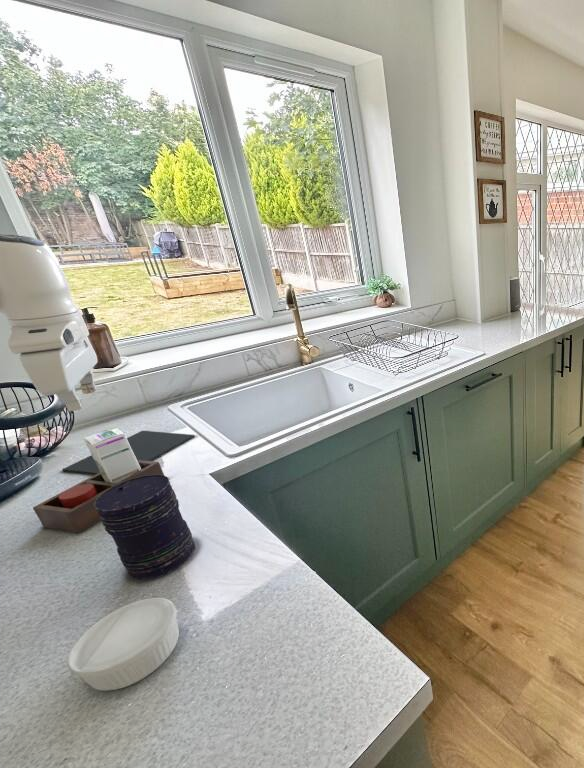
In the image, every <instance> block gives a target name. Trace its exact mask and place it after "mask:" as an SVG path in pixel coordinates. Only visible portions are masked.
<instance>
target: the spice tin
mask: <svg viewBox="0 0 584 768" xmlns="http://www.w3.org/2000/svg"><path fill="white" fill-rule="evenodd" d="M74 486H75V485H74ZM71 487H72V488H71ZM71 487H69V488H70V489H69V488H67V489H68V490H67V489H65V490H66V491H65V490H63V491H64V492H63V491H62V493H61V492H60V493H61V494H60V493H59V494H60V495H59V499H60V501H61V503H62V505H63V507H64V508H69V509H73V508H74V507H76V506H78V505H80V504H82V503H83V502H85V501H87V500H89V499H90V498H92V497H94V496H96V495H97V494H98V493H97V491H96V489H95V487H94V485H93V484H82V485H78V486H75V487H73V486H71Z"/></svg>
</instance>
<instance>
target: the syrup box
mask: <svg viewBox="0 0 584 768" xmlns="http://www.w3.org/2000/svg"><path fill="white" fill-rule="evenodd" d="M127 438H128V437H127V436H126V434H125V433H124V432H123V431H121V430H119V429H118V428H117V427H112V428H108V429H105V430H101V431H98V432H95V433H93V434H91V435H88V436H86V437H83V441H84V442H85V445H86V447H87V448H88V451H89V453H90V456H91V455H92V457H93V459H94V461H95V463H96V465H97V467H98V469H99V471H100V473H101V475H102V477H103V479H104V481H105V482H110V483H119V482H120V481H122V480H124V479H126V478H127V477H129V476H131V475H133V474H134V473H136V472H138V471H140V470H141V468H140V466H139V463H138V461H137V459H136V457H135V455H134V453H133V451H132V449H131V447H130V445H129V442H128V440H127Z"/></svg>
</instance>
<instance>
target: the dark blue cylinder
mask: <svg viewBox="0 0 584 768" xmlns="http://www.w3.org/2000/svg"><path fill="white" fill-rule="evenodd" d="M94 506H95V508H96V510H97V511H98V514H99V516H100V521H101V524H102V526H103V527H104V530H105V531H106V533H107V534H108V535H110V536H111V538H112V539H113V541H114V544H115V545H116V552H117V555H118V556H119V559H120V561H121V563H122V566H123V567H124V568H125V569H126V571H127V573H128V576H129V577H130V578H131V579H132V580H135V581H149V580H154V579H157V578H159V577H162V576H165V575H168V574H170V573H172V572H174V571H175V570H177V569H179V568H180V567H182V566H183V565H184V564H185V563H186V562H187V561H189V560H190V559H191V557H192V556H194V553H195V551H196V543H195V541H194V540H193V539H194V538H193V534H192V532H191V529H190V527H189V525H188V523H187V521H186V520H185V519H184V517H183V516H182V513H181V510H180V504H179V500H178V499H177V494H176V492H175V490H174V489H173V487H172V485H171V481H170V480H169V477H167V476H166V475H164V476H163V475H147V476H142V477H138V478H134V479H131V480H128V481H125V482H123V483H120V484H118V485H116V486H114V487H112V488H110V489H108V490H107V491H105V492H104V493H103V494H101V495H100V496H99V497H98V498H97V499H96V501H95V503H94Z"/></svg>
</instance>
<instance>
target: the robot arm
mask: <svg viewBox="0 0 584 768" xmlns="http://www.w3.org/2000/svg"><path fill="white" fill-rule="evenodd" d="M0 313H2V314H4V315H5V317H6V318H7V320H8V322H9V325H10V326H11V327H10V330H11V333H10V336H9V339H8V340H7V345H8V348H9V350H10V351H11V353H12V354H14V355H17V354H19V360H20V363H21V365H22V368H23V369H24V371H25V373H26V374H27V376H28V378H29V380H30V381H31V383H32V385H33V386H34V388H35V389H36V391H38V392H39V393H40V394H41V395H42V396H45V397H48V396H56V397H57V398H58V399H59V400H60V401H61V402H63V403H64V405H65V407H66V409H67V411H69V412H75V411H80V410H81V409H82V408H83V407H84V403H83V401H82V399H81V397H79V396H78V395H77V393H76V389H75V387H76V386H77V385H78V384H80V385H79V387H80V390H81V392H82V394H84V395H88V394H94V393H95V392H96V391H97V386H96V383H95V379H94V371H93V370H92V369H93V368H94V367H95V366H96V365H97V364H98V362H99V361H98V356H97V354H96V351H95V349H94V347H93V345H92V343H91V341H90V339H89V337H88V336H90V332H89V329H88V327H87V324H86V322H85V319H84V317H83V315H82V311H81V310H80V308H79V306H78V305H77V304H76V303H75V302H74V299H73V298H72V296H71V288H70V283H69V280H68V279H67V276H66V274H65V272H64V269H63V268H62V266H61V263H60V262H59V260H58V259H57V257H56V255H55V253H54V252H53V250H51V248H50V247H49V246H48V244H46V243H45V242H43V241H41V240H40V239H37V238H34V237H30V236H25V235H15V234H1V233H0Z"/></svg>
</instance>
